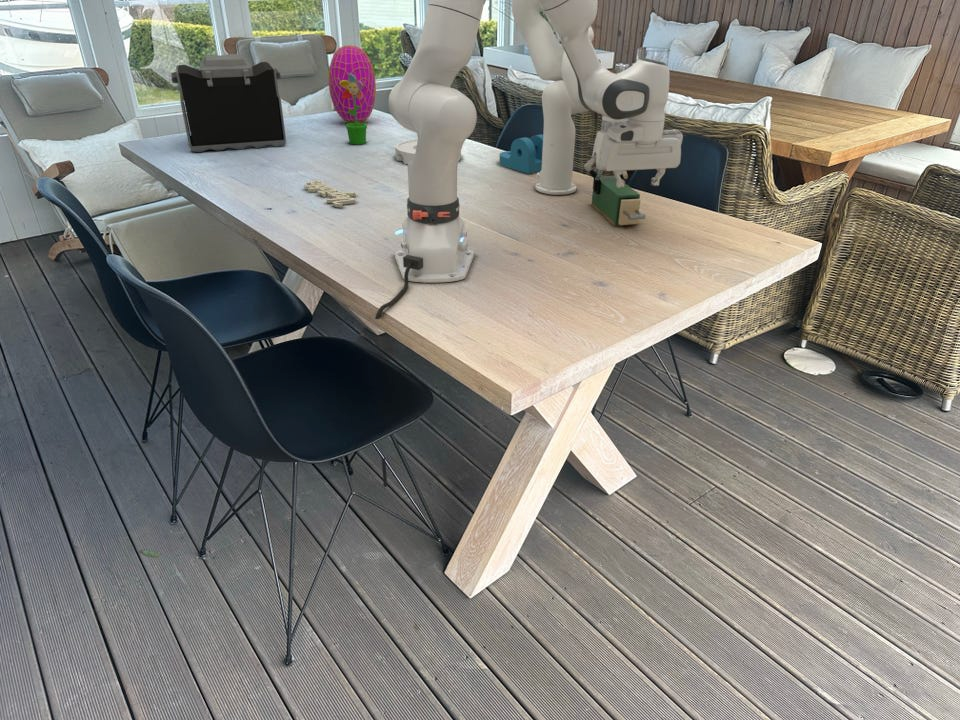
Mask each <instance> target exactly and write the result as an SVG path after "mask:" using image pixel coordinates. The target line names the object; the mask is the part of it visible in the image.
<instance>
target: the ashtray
mask: <svg viewBox="0 0 960 720" xmlns="http://www.w3.org/2000/svg"><path fill="white" fill-rule="evenodd" d="M417 142H418V138H416V139H415V138H414V139H408V140H404V141H399V142H398V143H396V144H395V146H394V150H395V151H394V152H395V153H394V154H395V160H396V161H397V162H403V164H404V165H408V164H409V162H410V160H411V159H412V158H414V155H415V152H416V148H417ZM461 158H462V151H461V152H460V156H459V160H458V162H459V161H460V160H462V159H461Z"/></svg>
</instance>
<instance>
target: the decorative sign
mask: <svg viewBox="0 0 960 720" xmlns="http://www.w3.org/2000/svg"><path fill="white" fill-rule="evenodd" d="M303 187H304V190H307V192H308V193H315V192H316V193H317V195H318V196H319V197H320V196H322V197H323V198H326V196H327V197H328V198H326V203H327V204H333V207H335V208H343V207H344V206H343V205H351V204H354V203H356V198H354V197H356V191H346V192H345V191H341V190H338V189H337V188H336V187H333V186H330V185H329V184H327V183H326V182H323V181H321V180H319V179H315V180H312V181H306V184H305V185H304V186H303Z"/></svg>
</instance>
